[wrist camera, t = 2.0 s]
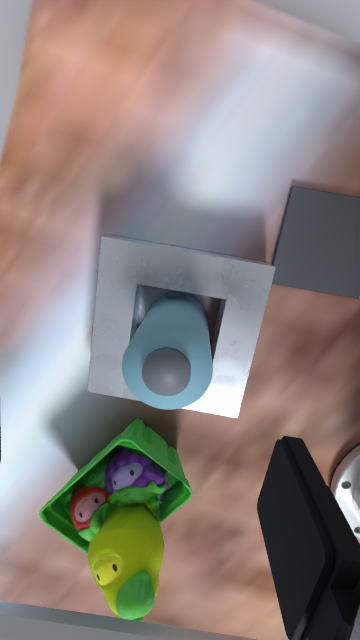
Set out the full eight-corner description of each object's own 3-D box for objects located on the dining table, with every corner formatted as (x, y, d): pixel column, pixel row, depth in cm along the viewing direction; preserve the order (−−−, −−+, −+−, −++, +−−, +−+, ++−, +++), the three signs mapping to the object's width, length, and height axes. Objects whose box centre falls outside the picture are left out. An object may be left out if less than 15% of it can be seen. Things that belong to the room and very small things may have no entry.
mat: (387, 203, 22) (391, 203, 22) (355, 297, 24) (358, 298, 24) (291, 186, 22) (293, 186, 22) (267, 282, 24) (268, 283, 24)
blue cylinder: (212, 298, 25) (222, 338, 16) (201, 354, 26) (203, 422, 17) (151, 287, 25) (124, 321, 16) (143, 344, 26) (114, 406, 17)
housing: (266, 262, 24) (275, 266, 21) (232, 398, 27) (237, 417, 24) (112, 235, 24) (101, 236, 21) (98, 374, 27) (87, 391, 24)
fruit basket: (136, 398, 28) (99, 506, 17) (205, 458, 29) (211, 593, 18) (60, 469, 31) (-15, 602, 20) (126, 521, 32) (91, 671, 21)
